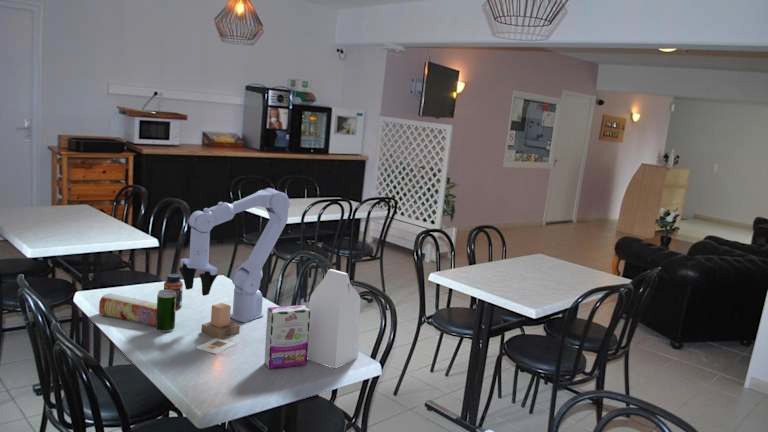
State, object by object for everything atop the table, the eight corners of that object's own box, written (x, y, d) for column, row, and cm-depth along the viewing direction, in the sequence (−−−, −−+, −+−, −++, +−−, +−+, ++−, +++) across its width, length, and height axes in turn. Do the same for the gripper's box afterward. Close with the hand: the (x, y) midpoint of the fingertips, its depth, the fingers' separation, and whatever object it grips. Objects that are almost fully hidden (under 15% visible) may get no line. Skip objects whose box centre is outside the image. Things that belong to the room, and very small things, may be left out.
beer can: (158, 333, 182) (159, 295, 180) (154, 327, 186) (155, 289, 184) (176, 331, 185) (178, 293, 183) (172, 325, 189) (173, 288, 187)
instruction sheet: (216, 338, 182) (216, 337, 182) (235, 344, 180) (235, 343, 180) (196, 348, 174) (196, 347, 174) (216, 354, 172) (216, 353, 172)
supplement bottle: (185, 308, 205) (187, 275, 203) (170, 312, 200) (172, 279, 198) (173, 303, 208) (175, 271, 206) (159, 307, 203) (160, 274, 201)
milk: (301, 356, 176) (308, 270, 172) (325, 345, 186) (333, 263, 181) (335, 369, 170) (343, 280, 166) (358, 357, 180) (366, 272, 175)
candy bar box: (300, 358, 175) (305, 304, 172) (307, 365, 170) (311, 310, 168) (262, 362, 170) (267, 306, 167) (268, 370, 165) (272, 312, 162)
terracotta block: (220, 321, 190) (222, 302, 189) (229, 324, 188) (230, 306, 187) (210, 323, 187) (211, 305, 186) (219, 327, 185) (220, 308, 184)
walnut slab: (221, 327, 193) (221, 318, 192) (239, 334, 189) (239, 325, 188) (201, 333, 186) (201, 324, 186) (219, 341, 182) (220, 331, 182)
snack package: (169, 322, 192) (170, 301, 191) (156, 329, 186) (157, 307, 185) (111, 310, 197) (111, 290, 196) (96, 316, 190) (97, 296, 189)
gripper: (173, 246, 189) (171, 288, 191) (205, 256, 182) (203, 300, 184) (191, 243, 195) (189, 284, 197) (223, 253, 188) (220, 295, 190)
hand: (197, 291), depth 191 cm, fingers open, 7 cm apart
